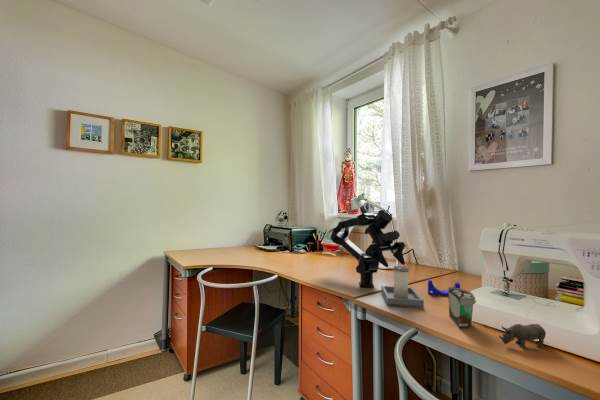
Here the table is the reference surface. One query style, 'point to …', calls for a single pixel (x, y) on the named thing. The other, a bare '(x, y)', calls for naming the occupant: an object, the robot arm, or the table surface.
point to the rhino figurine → (524, 334)
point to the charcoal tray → (411, 302)
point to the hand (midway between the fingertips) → (396, 265)
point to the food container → (461, 307)
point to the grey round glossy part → (401, 281)
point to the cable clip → (439, 292)
